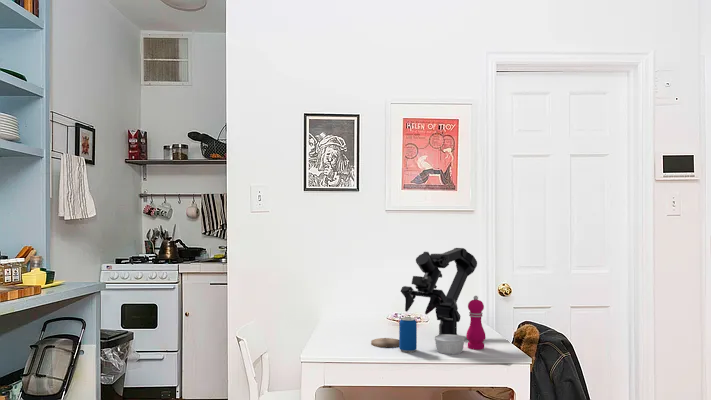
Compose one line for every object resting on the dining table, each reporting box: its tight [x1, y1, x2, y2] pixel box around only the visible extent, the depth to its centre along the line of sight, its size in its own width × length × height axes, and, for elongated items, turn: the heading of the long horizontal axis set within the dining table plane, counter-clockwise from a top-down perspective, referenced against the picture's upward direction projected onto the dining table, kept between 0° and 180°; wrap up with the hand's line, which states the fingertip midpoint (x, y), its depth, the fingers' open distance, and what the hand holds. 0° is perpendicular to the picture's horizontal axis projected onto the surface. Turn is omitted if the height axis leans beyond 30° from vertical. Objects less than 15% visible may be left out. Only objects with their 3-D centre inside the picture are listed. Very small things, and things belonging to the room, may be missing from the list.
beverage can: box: [398, 316, 418, 353], centre depth 212 cm, size 6×6×12 cm
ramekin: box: [434, 334, 466, 355], centre depth 211 cm, size 11×11×5 cm
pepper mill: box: [465, 295, 486, 351], centre depth 216 cm, size 7×7×20 cm
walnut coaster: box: [370, 337, 399, 348], centre depth 222 cm, size 12×12×1 cm
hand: (415, 312), depth 219 cm, fingers open, 9 cm apart
